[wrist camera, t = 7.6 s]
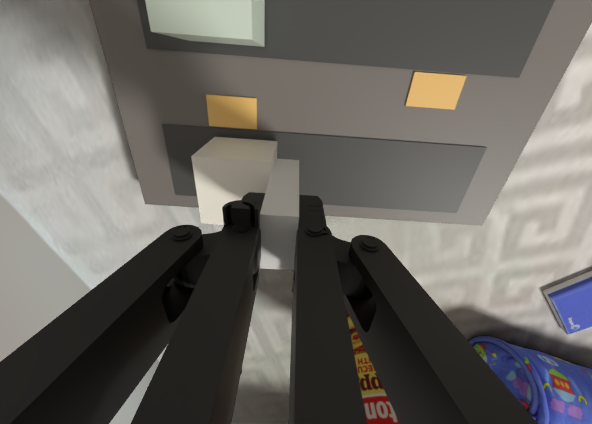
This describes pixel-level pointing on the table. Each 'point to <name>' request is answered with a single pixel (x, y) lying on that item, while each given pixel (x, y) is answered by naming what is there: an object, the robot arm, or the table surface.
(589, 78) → the table surface
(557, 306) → the hard drive
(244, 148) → the cream tab
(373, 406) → the canned food
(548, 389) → the pencil case
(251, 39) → the sage tab
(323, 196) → the switch panel
